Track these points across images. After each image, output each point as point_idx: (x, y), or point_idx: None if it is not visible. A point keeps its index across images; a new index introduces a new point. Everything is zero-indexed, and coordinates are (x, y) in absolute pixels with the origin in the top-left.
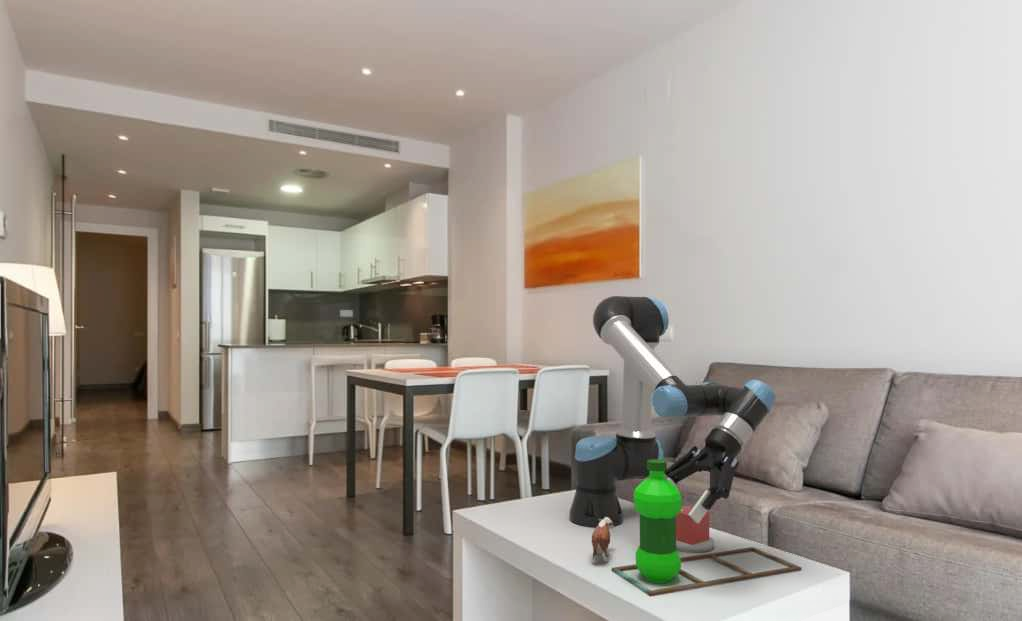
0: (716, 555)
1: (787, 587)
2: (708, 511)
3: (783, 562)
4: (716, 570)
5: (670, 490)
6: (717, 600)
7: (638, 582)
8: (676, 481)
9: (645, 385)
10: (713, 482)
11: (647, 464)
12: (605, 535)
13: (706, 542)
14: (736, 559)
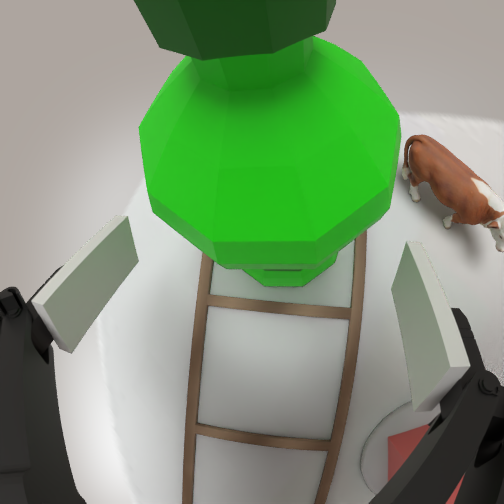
0: (326, 458)
1: (131, 430)
2: None
3: None
4: (259, 397)
5: (148, 119)
6: (142, 268)
7: None
8: (434, 423)
9: None
10: (3, 351)
11: None
12: (427, 161)
13: (379, 475)
14: (289, 479)
